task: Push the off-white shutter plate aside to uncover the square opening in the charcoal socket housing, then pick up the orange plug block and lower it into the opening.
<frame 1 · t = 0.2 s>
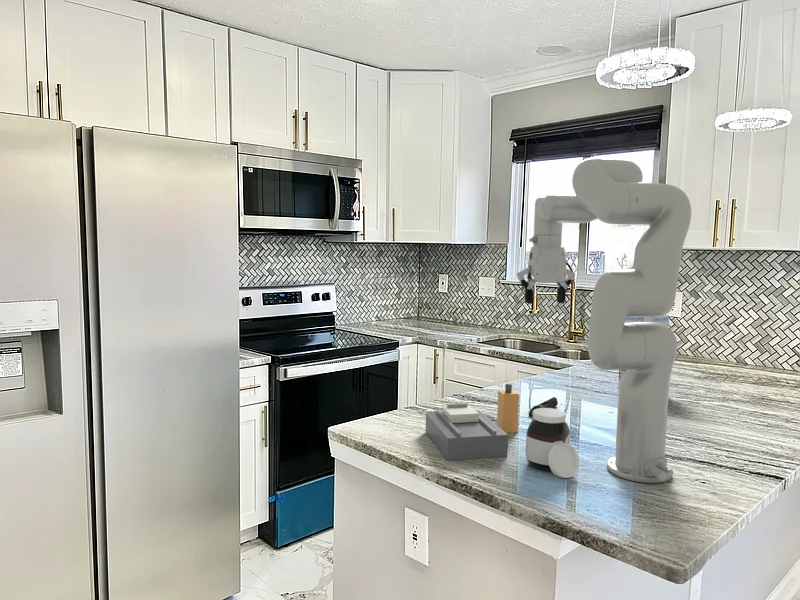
hand: (545, 303, 161), 31 cm above the counter, tool pointing down, fingers open, 9 cm apart
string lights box: (640, 391, 187), on the counter
socket: (459, 438, 139), on the counter
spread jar: (553, 469, 122), on the counter
plug: (507, 430, 146), on the counter
electric trimmer: (543, 413, 163), on the counter
shutter: (460, 412, 138), point 7 cm above the counter, slide at 0.0 cm
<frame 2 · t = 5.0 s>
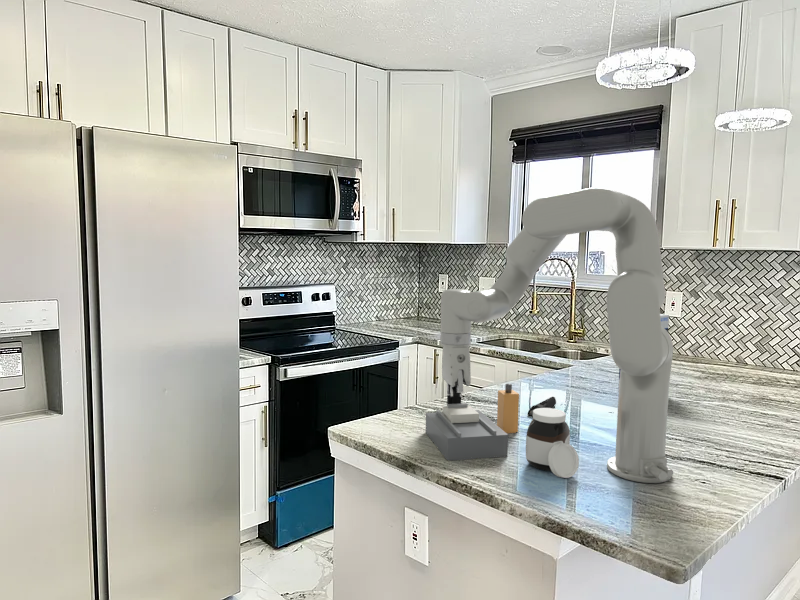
hand: (453, 411, 144), 5 cm above the counter, tool pointing down, fingers closed
shutter: (460, 412, 138), point 7 cm above the counter, slide at 0.2 cm, touching gripper
everything else where it was.
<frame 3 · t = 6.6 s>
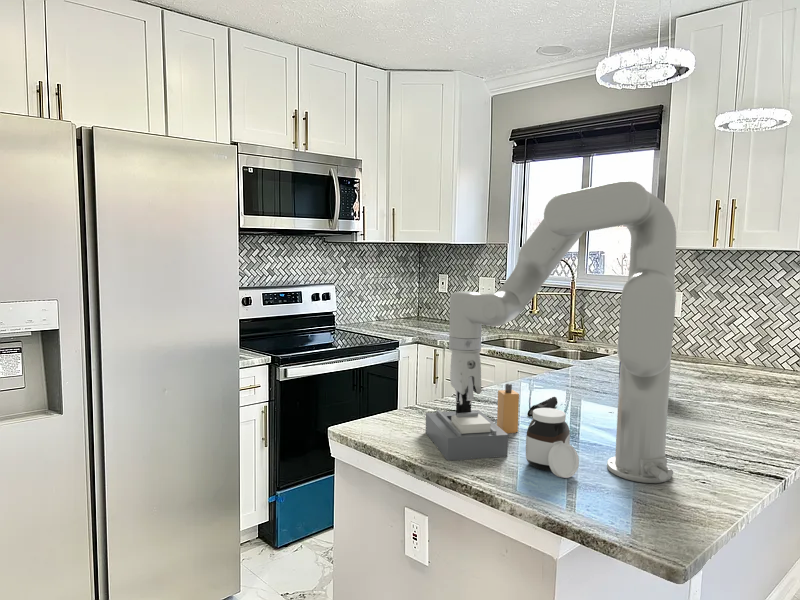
hand: (463, 419, 136), 5 cm above the counter, tool pointing down, fingers closed
shutter: (470, 422, 131), point 7 cm above the counter, slide at 7.6 cm, touching gripper
everything else where it was.
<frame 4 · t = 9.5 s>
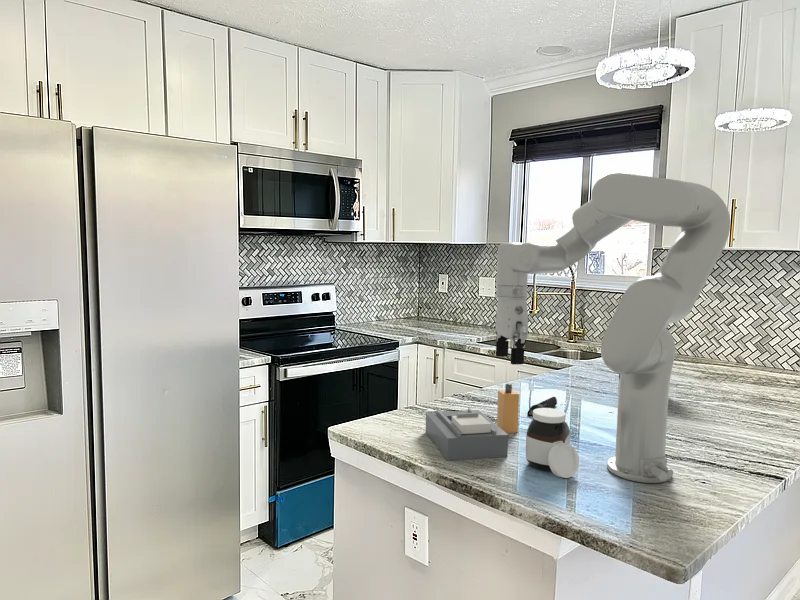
hand: (509, 360, 144), 18 cm above the counter, tool pointing down, fingers open, 9 cm apart
shutter: (470, 422, 131), point 7 cm above the counter, slide at 7.9 cm
everything else where it was.
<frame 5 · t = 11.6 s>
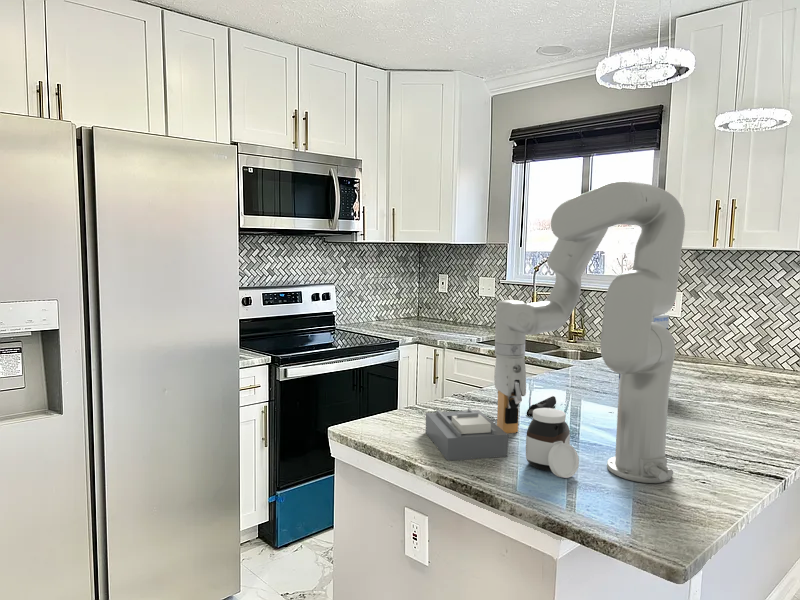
hand: (507, 419, 146), 3 cm above the counter, tool pointing down, fingers closed on plug, 4 cm apart
plug: (507, 430, 146), on the counter, touching gripper
everything else where it was.
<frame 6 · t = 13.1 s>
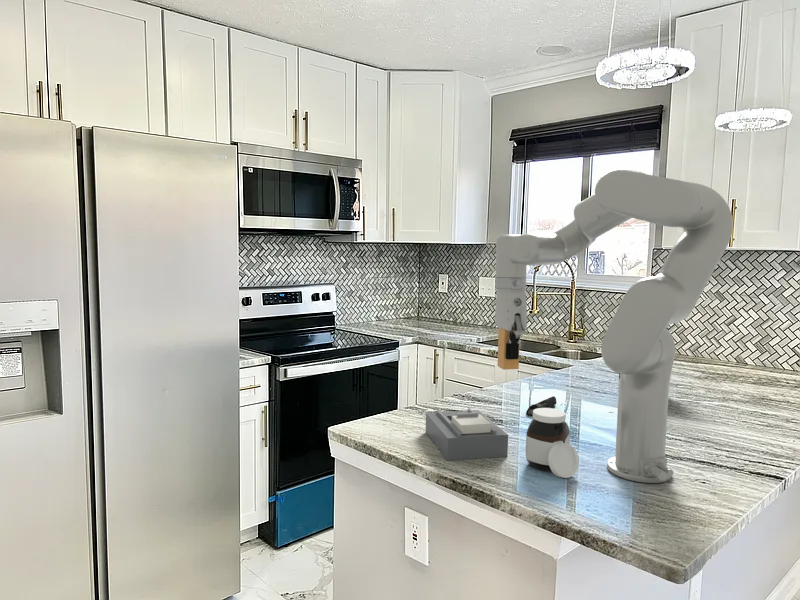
hand: (508, 356, 144), 19 cm above the counter, tool pointing down, fingers closed on plug, 4 cm apart
plug: (507, 367, 144), point 16 cm above the counter, touching gripper
when the fingers open (5 cm above the counter, at t = 16.4 s): plug drops 2 cm, resting in socket.
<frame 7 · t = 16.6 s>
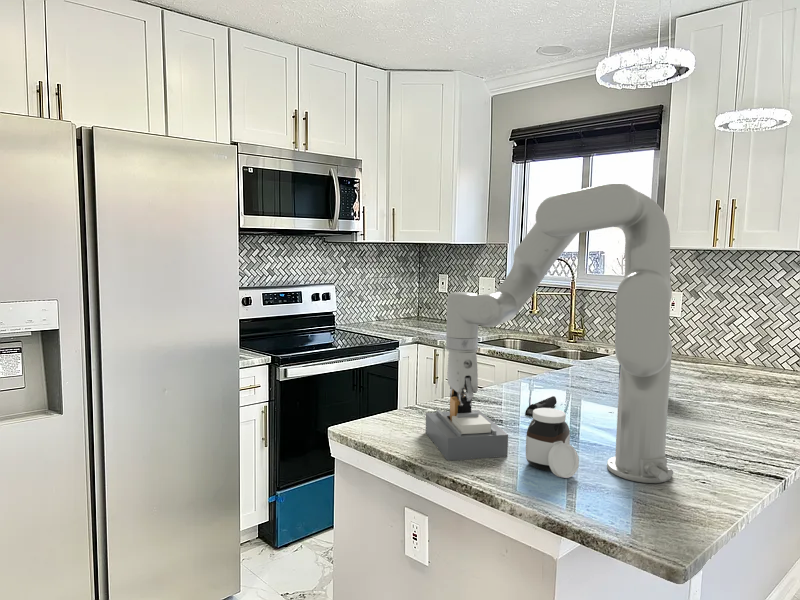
hand: (460, 416, 139), 5 cm above the counter, tool pointing down, fingers open, 5 cm apart
plug: (459, 438, 139), resting in socket
shutter: (471, 422, 131), point 7 cm above the counter, slide at 8.0 cm, touching gripper
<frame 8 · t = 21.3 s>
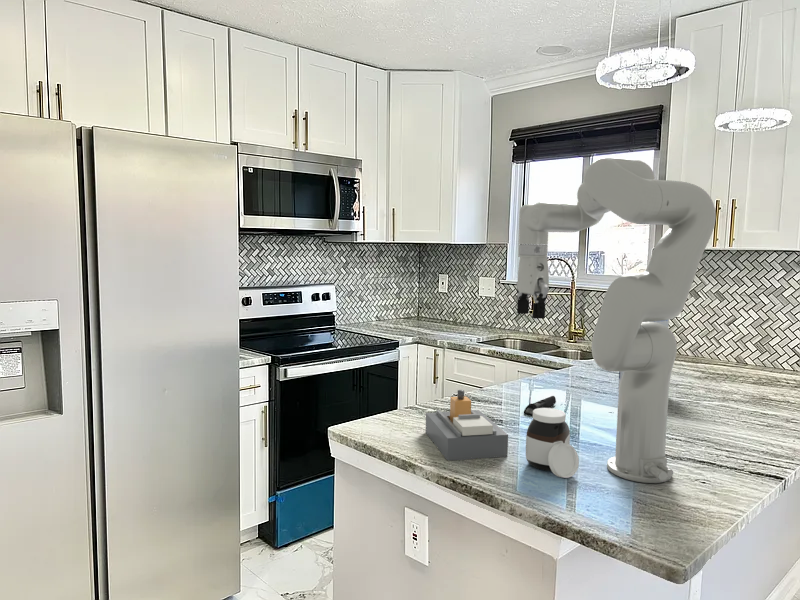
hand: (530, 315, 153), 28 cm above the counter, tool pointing down, fingers open, 9 cm apart
shutter: (472, 423, 130), point 7 cm above the counter, slide at 9.0 cm
at the end: shutter slide at 9.0 cm; plug 0.0 cm off-centre on the socket, point 0.0 cm above the socket's base; the gripper is holding nothing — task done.
